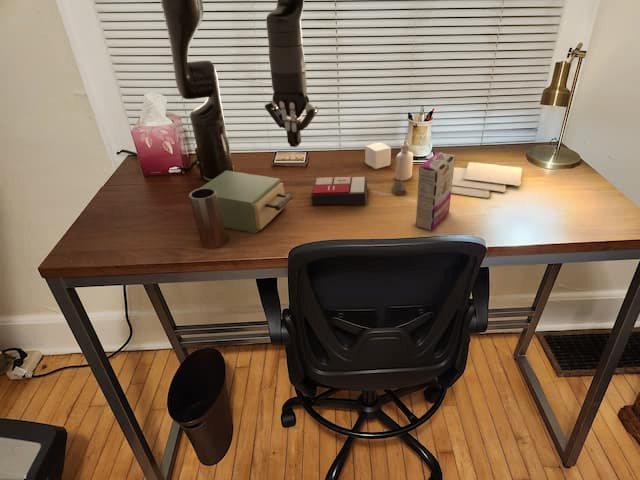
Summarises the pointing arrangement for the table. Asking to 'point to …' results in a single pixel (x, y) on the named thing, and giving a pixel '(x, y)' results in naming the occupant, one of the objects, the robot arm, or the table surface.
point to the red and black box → (340, 191)
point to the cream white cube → (377, 155)
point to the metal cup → (208, 217)
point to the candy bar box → (434, 190)
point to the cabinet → (240, 197)
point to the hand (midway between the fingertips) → (294, 145)
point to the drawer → (270, 205)
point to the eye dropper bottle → (404, 163)
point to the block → (399, 188)
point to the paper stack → (484, 179)
